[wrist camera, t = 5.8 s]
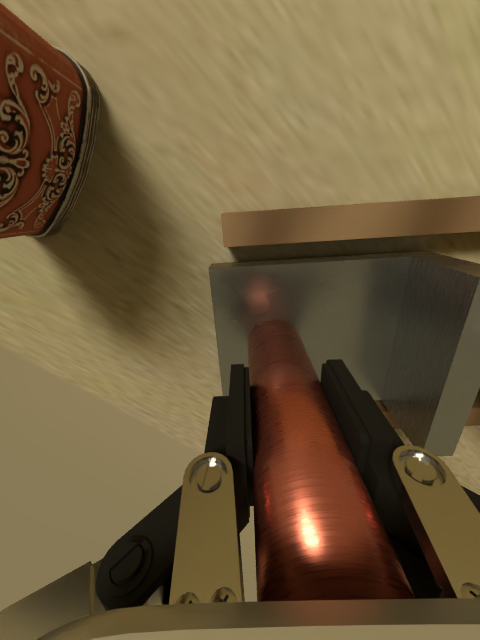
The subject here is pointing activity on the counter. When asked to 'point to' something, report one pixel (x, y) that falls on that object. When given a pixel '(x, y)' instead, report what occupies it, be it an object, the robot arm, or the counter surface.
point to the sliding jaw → (314, 408)
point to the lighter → (41, 130)
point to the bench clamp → (356, 231)
